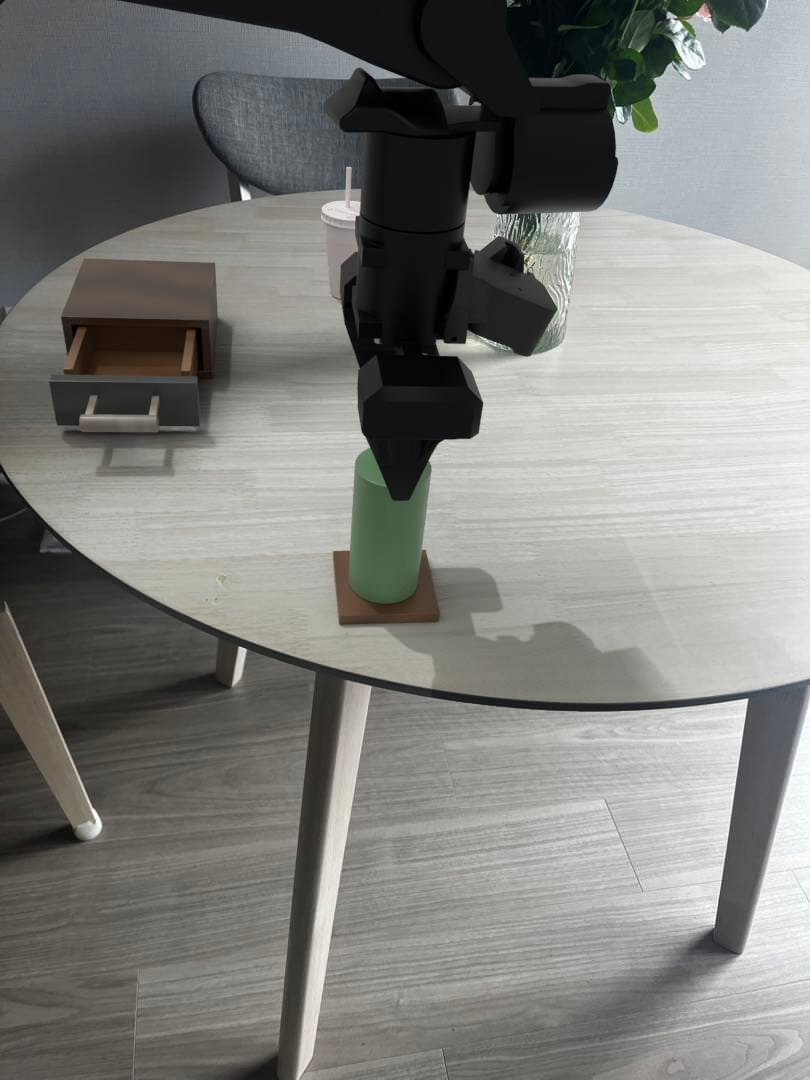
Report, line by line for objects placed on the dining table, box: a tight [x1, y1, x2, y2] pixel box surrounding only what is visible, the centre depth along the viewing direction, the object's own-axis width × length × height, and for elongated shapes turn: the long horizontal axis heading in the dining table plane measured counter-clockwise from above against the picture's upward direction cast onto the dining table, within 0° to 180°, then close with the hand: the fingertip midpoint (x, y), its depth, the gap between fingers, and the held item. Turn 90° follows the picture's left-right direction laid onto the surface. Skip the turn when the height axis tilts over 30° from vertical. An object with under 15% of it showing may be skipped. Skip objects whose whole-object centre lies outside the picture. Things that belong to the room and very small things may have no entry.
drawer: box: [48, 325, 201, 433], centre depth 79 cm, size 17×12×4 cm
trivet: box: [332, 549, 441, 625], centre depth 65 cm, size 7×7×1 cm
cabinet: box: [60, 257, 219, 380], centre depth 89 cm, size 14×13×6 cm
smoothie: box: [320, 166, 361, 300], centre depth 100 cm, size 6×6×14 cm
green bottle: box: [348, 447, 433, 604], centre depth 61 cm, size 5×5×11 cm
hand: (392, 457), depth 58 cm, fingers open, 9 cm apart
